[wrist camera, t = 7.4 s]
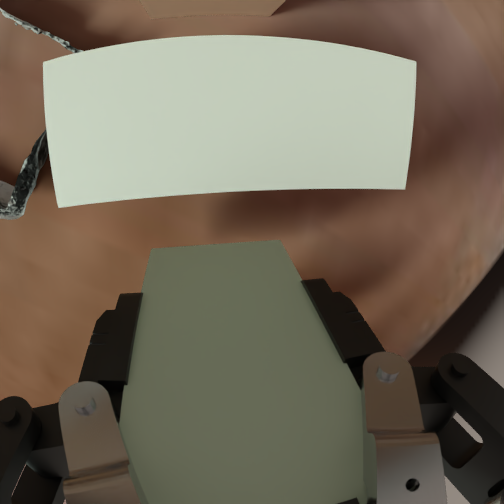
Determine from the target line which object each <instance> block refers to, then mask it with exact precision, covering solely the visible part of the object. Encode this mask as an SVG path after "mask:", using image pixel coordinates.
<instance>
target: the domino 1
mask: <svg viewBox="0 0 504 504" xmlns="http://www.w3.org/2000/svg"><path fill="white" fill-rule="evenodd" d="M43 84H44V106H45V119H46V130H47V140H48V148H49V156H50V163H51V170H52V176H53V182H54V188H55V193H56V199H57V204H58V208H61V207H68V206H76V205H84V204H92V203H101V202H110V201H119V200H129V199H139V198H150V197H161V196H173V195H187V194H201V193H217V192H235V191H257V190H287V189H405V186H406V180H407V173H408V166H409V158H410V150H411V141H412V131H413V120H414V107H415V90H416V61H412V60H409V59H405V58H402V57H398V56H394V55H390V54H386V53H381V52H377V51H372V50H368V49H363V48H358V47H353V46H347V45H341V44H335V43H328V42H321V41H314V40H305V39H296V38H285V37H271V36H248V35H211V36H188V37H174V38H163V39H154V40H145V41H138V42H131V43H124V44H118V45H113V46H107V47H102V48H97V49H92V50H88V51H83V52H79V53H75V54H71V55H67V56H63V57H59V58H56V59H52V60H49V61H45V62H43Z"/></svg>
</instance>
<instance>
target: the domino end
mask: <svg viewBox="0 0 504 504" xmlns="http://www.w3.org/2000/svg"><path fill="white" fill-rule="evenodd" d="M139 1H140V3H141V4H142V6H143V7H144V9H145V10H146V12H147V14H148V15H149V17H150V18H151V20H152V19H161V18H172V17H185V16H206V15H246V16H267V17H270V16H271V15H272V14H273V13H274V12H275V11H276V10H277V9H278V8H279V7H280V6H281V5H282V4H283V3H284V2H285V1H286V0H139Z"/></svg>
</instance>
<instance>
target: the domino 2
mask: <svg viewBox="0 0 504 504" xmlns="http://www.w3.org/2000/svg"><path fill="white" fill-rule="evenodd" d="M301 281H302V279H301V277H300V275H299V273H298V271H297V270H296V268H295V266H294V264H293V262H292V261H291V259H290V257H289V255H288V253H287V252H286V250H285V248H284V246H283V244H282V243H281V241H280V240H270V241H255V242H240V243H225V244H210V245H196V246H182V247H168V248H155V249H151V253H150V257H149V261H148V265H147V269H146V273H145V278H144V282H143V286H142V291H141V293H143V297H142V302H141V307H140V312H139V318H138V323H137V328H136V334H135V340H134V346H133V352H132V358H131V364H130V371H129V378H128V385H124V390H123V398H122V405H121V413H120V422H119V425H120V428H121V432H122V435H123V438H124V441H125V444H126V447H127V450H128V452H129V455H130V458H131V461H132V463H133V466H134V469H135V471H136V474H137V477H138V479H139V482H140V484H141V487H142V489H143V491H144V494H145V496H146V498H147V501H148V503H149V504H337V503H340V502H344V501H347V500H350V499H353V498H356V497H357V499H358V502H359V504H367V489H366V485H365V483H364V481H363V425H362V401H361V390H360V388H359V386H358V384H357V382H356V380H355V379H354V377H353V375H352V373H351V371H350V369H349V367H348V365H347V363H344V364H343V362H342V360H341V358H340V356H339V354H338V352H337V350H336V348H335V346H334V344H333V342H332V340H331V338H330V336H329V334H328V332H327V330H326V329H325V327H324V325H323V323H322V321H321V319H320V317H319V315H318V313H317V311H316V309H315V308H314V306H313V304H312V302H311V300H310V298H309V296H308V294H307V292H306V291H305V289H304V287H303V285H302V283H301Z"/></svg>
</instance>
